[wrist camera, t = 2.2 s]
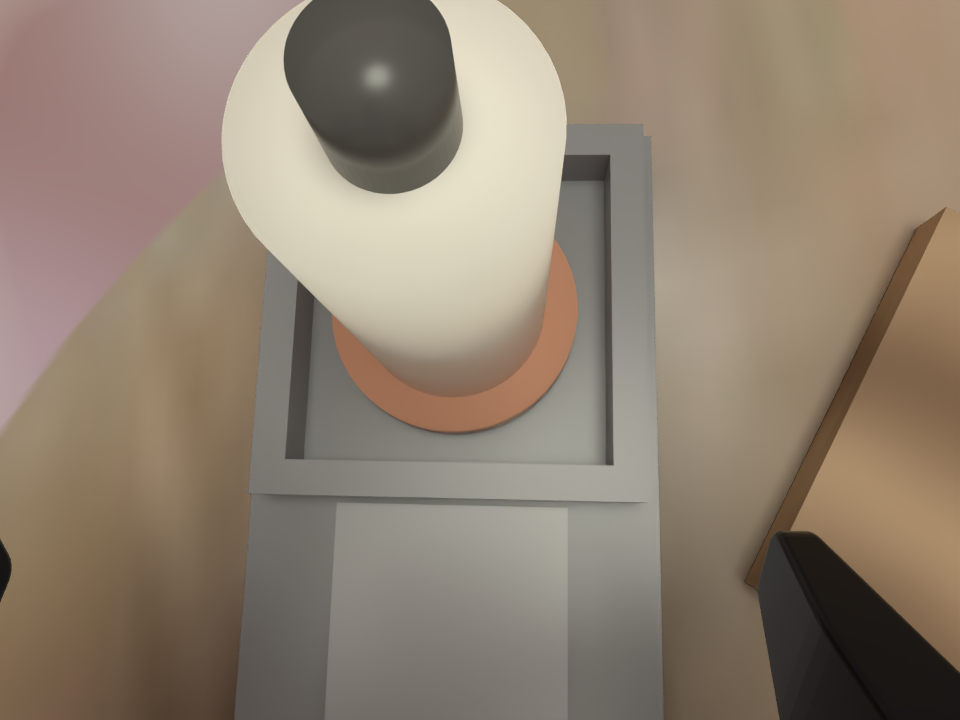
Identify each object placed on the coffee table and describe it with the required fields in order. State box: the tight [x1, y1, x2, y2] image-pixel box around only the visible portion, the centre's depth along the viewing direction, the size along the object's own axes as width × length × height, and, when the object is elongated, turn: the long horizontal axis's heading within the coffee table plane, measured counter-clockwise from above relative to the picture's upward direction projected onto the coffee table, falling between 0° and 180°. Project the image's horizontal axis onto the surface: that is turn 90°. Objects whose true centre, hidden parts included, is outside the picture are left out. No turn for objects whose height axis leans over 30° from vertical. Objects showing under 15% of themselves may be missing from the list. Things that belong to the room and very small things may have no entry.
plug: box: [222, 0, 578, 435], centre depth 14 cm, size 6×6×12 cm
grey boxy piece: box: [234, 124, 664, 720], centre depth 18 cm, size 24×10×4 cm, turn 179°
